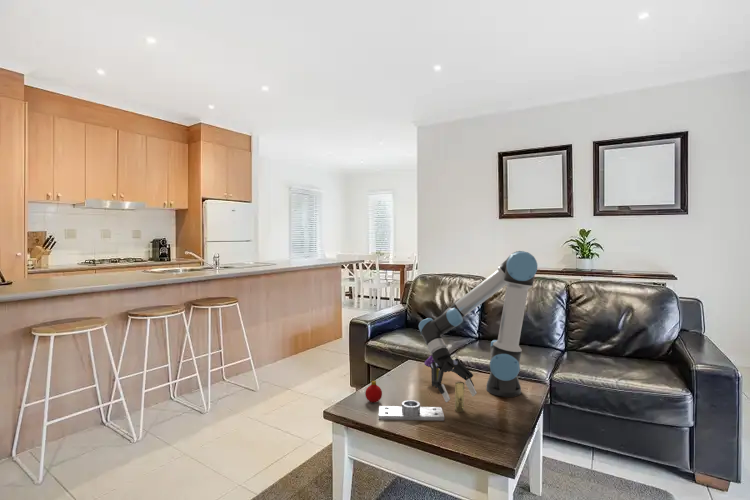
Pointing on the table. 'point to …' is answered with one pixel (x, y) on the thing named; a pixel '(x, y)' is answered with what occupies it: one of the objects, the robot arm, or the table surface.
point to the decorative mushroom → (429, 362)
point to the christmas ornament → (373, 392)
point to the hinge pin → (459, 396)
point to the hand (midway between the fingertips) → (461, 397)
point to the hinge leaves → (410, 412)
